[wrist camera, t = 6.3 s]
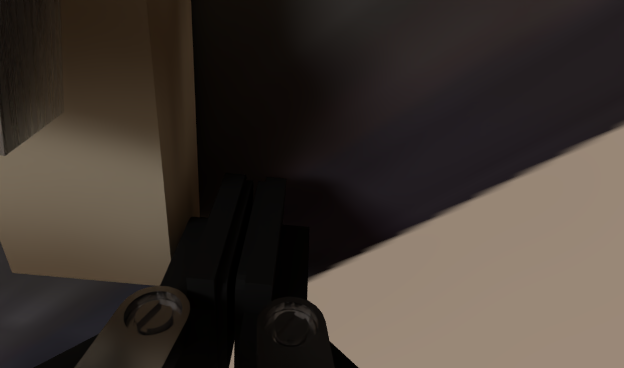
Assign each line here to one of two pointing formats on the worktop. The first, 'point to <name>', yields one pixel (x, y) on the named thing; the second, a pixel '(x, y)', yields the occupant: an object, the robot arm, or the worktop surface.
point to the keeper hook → (29, 69)
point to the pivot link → (109, 150)
